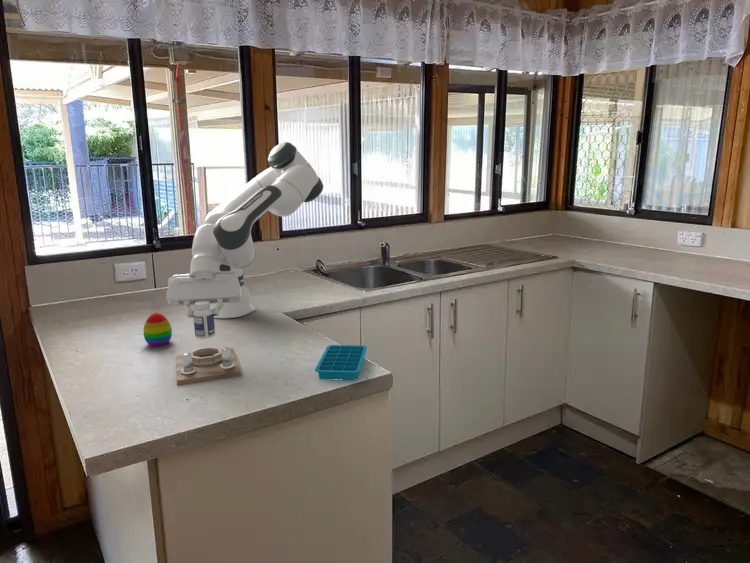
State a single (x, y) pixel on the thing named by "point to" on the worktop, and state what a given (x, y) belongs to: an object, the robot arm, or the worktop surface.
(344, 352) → the ice cube tray
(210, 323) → the pill bottle
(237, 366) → the board
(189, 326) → the worktop surface
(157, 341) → the decorative egg
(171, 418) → the worktop surface
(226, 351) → the steel pins
